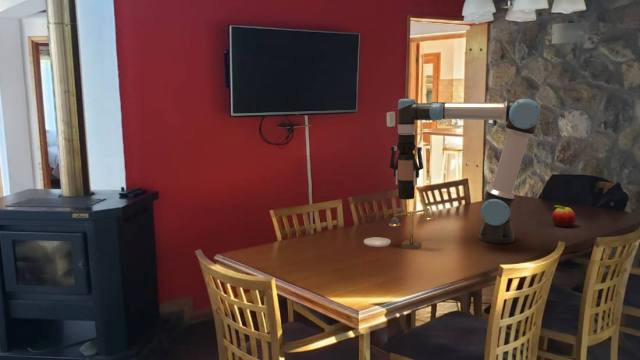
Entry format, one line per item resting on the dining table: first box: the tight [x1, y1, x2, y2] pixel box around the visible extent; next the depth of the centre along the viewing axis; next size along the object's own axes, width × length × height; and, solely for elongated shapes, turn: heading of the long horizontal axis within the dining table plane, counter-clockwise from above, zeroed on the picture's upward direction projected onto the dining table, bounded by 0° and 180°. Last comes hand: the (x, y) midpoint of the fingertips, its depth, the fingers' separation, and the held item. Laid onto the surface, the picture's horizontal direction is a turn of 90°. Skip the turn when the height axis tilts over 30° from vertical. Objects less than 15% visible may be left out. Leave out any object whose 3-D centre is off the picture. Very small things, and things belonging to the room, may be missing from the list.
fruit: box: [551, 204, 576, 228], centre depth 280 cm, size 11×11×10 cm
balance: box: [388, 207, 436, 251], centre depth 246 cm, size 20×6×18 cm, turn 63°
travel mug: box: [397, 153, 416, 201], centre depth 254 cm, size 8×8×20 cm
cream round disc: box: [363, 236, 392, 248], centre depth 255 cm, size 12×12×1 cm
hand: (406, 184), depth 255 cm, fingers closed on travel mug, 8 cm apart
